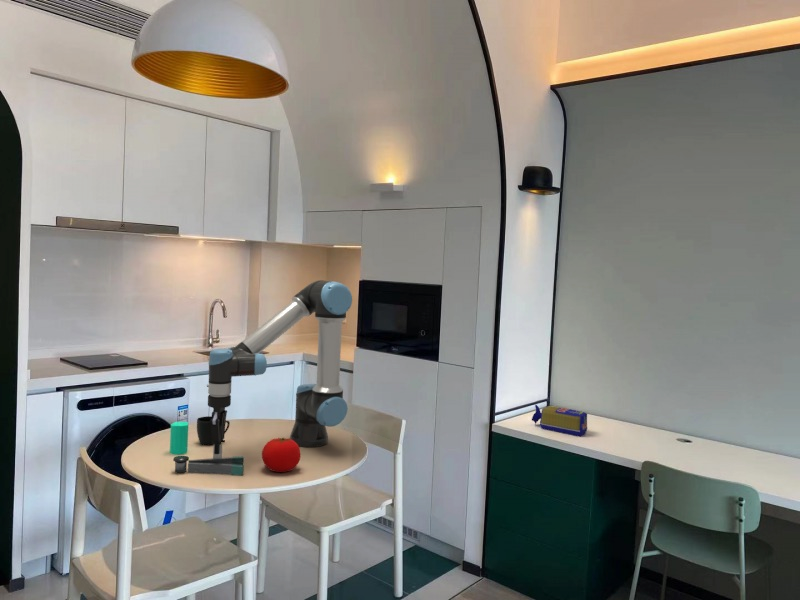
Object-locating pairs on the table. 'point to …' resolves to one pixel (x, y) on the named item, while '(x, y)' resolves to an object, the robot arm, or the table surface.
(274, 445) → the tomato
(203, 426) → the mug
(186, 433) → the candle
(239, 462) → the bar
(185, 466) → the tongs fixed
